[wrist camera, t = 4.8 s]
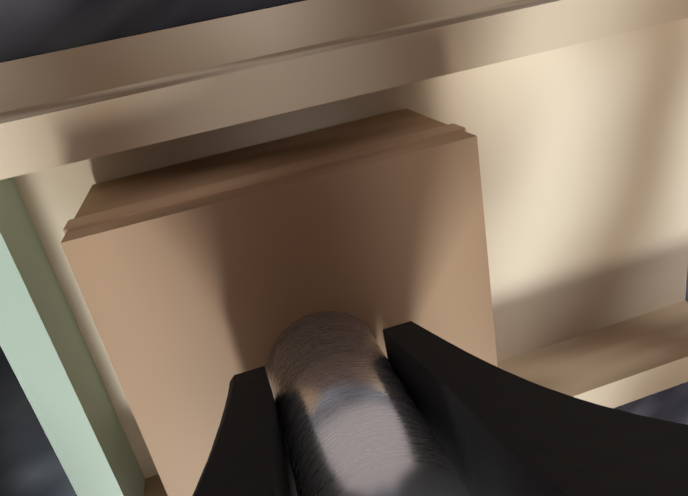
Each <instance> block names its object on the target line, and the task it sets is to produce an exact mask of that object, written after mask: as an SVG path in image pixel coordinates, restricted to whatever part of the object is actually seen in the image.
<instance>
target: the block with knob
mask: <svg viewBox="0 0 688 496" xmlns="http://www.w3.org/2000/svg"><path fill="white" fill-rule="evenodd" d="M63 231H64V234H65V236H64V238H63V239H62V241H61V245H62V248H63V250H64V252H65V255H66V257H67V260H68V262H69V264H70V267H71V269H72V271H73V274H74V276H75V278H76V281H77V283H78V285H79V288H80V290H81V293H82V295H83V297H84V300H85V302H86V304H87V307H88V309H89V311H90V314H91V316H92V318H93V321H94V323H95V325H96V328H97V330H98V333H99V335H100V337H101V340H102V342H103V344H104V347H105V349H106V351H107V354H108V356H109V358H110V361H111V363H112V365H113V368H114V370H115V373H116V375H117V377H118V380H119V382H120V384H121V387H122V389H123V391H124V394H125V396H126V398H127V401H128V403H129V405H130V408H131V410H132V413H133V415H134V417H135V420H136V422H137V424H138V427H139V429H140V431H141V434H142V436H143V438H144V441H145V443H146V445H147V448H148V450H149V453H150V455H151V457H152V460H153V462H154V464H155V467H156V469H157V471H158V474H159V476H160V478H161V481H162V483H163V485H164V488H165V490H166V493H167V495H168V496H192V495H193V493H194V491H195V489H196V486H197V484H198V481H199V479H200V477H201V474H202V472H203V469H204V467H205V464H206V462H207V460H208V457H209V454H210V452H211V449H212V446H213V443H214V440H215V437H216V434H217V431H218V428H219V425H220V422H221V418H222V415H223V411H224V408H225V404H226V400H227V395H228V390H229V384H230V381H231V379H232V378H233V376H234V375H236V374H240V373H243V372H246V371H249V370H253V369H256V368H259V367H262V366H265V369H266V372H267V376H268V379H269V382H270V386H271V389H272V393H273V396H274V400H275V403H276V407H277V411H278V415H279V420H280V424H281V428H282V432H283V436H284V440H285V445H286V449H287V453H288V457H289V461H290V465H291V469H292V474H293V478H294V482H295V486H296V490H297V494H298V496H469V493H468V491H467V489H466V487H465V486H464V484H463V482H462V481H461V479H460V477H459V476H458V474H457V472H456V471H455V469H454V468H453V466H452V464H451V463H450V461H449V459H448V458H447V456H446V454H445V453H444V451H443V449H442V448H441V446H440V445H439V443H438V441H437V440H436V438H435V436H434V435H433V433H432V431H431V430H430V428H429V426H428V425H427V423H426V421H425V420H424V418H423V417H422V415H421V413H420V412H419V410H418V408H417V407H416V405H415V403H414V402H413V400H412V398H411V397H410V395H409V394H408V392H407V390H406V389H405V387H404V385H403V384H402V382H401V380H400V379H399V377H398V375H397V374H396V372H395V370H394V369H393V367H392V366H391V364H390V362H389V361H388V358H387V352H386V347H385V341H384V336H383V329H386V328H389V327H393V326H396V325H399V324H402V323H406V322H409V321H412V322H414V323H415V324H417V325H419V326H421V327H423V328H424V329H426V330H428V331H430V332H431V333H433V334H435V335H437V336H439V337H440V338H442V339H444V340H446V341H448V342H449V343H451V344H453V345H455V346H457V347H459V348H460V349H462V350H464V351H466V352H468V353H470V354H472V355H474V356H476V357H478V358H480V359H482V360H484V361H486V362H488V363H490V364H492V365H494V366H496V367H498V364H497V353H496V342H495V331H494V320H493V308H492V297H491V286H490V275H489V264H488V253H487V242H486V231H485V219H484V208H483V197H482V186H481V175H480V164H479V153H478V142H477V136H476V135H473V134H471V133H468V132H466V128H465V127H462V126H459V125H457V124H454V123H452V124H448V125H447V124H445V123H442V122H440V121H437V120H435V119H432V118H429V117H427V116H424V115H422V114H419V113H417V112H414V111H411V110H409V109H402V110H398V111H393V112H389V113H385V114H381V115H377V116H373V117H369V118H365V119H361V120H356V121H352V122H348V123H344V124H340V125H336V126H332V127H328V128H323V129H319V130H315V131H311V132H307V133H303V134H299V135H295V136H291V137H286V138H282V139H278V140H274V141H270V142H266V143H262V144H258V145H254V146H249V147H245V148H241V149H237V150H233V151H229V152H225V153H221V154H217V155H212V156H208V157H204V158H200V159H196V160H192V161H188V162H184V163H179V164H175V165H171V166H167V167H163V168H159V169H155V170H151V171H147V172H142V173H138V174H134V175H130V176H126V177H122V178H118V179H114V180H110V181H105V182H101V183H97V184H93V185H92V187H91V188H90V190H89V192H88V194H87V196H86V198H85V199H84V201H83V203H82V205H81V207H80V208H79V210H78V212H77V214H76V216H75V218H74V219H70V220H68V222H67V224H66V225H65V227H64V229H63Z"/></svg>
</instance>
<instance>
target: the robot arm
mask: <svg viewBox="0 0 688 496" xmlns="http://www.w3.org/2000/svg"><path fill="white" fill-rule="evenodd" d="M383 336H384V341H385V347H386V352H387V358H388V361H389V362H390V364H391V366H392V367H393V369H394V370H395V372H396V374H397V375H398V377H399V379H400V380H401V382H402V384H403V385H404V387H405V389H406V390H407V392H408V394H409V395H410V397H411V398H412V400H413V402H414V403H415V405H416V407H417V408H418V410H419V412H420V413H421V415H422V417H423V418H424V420H425V421H426V423H427V425H428V426H429V428H430V430H431V431H432V433H433V435H434V436H435V438H436V440H437V441H438V443H439V445H440V446H441V448H442V449H443V451H444V453H445V454H446V456H447V458H448V459H449V461H450V463H451V464H452V466H453V468H454V469H455V471H456V472H457V474H458V476H459V477H460V479H461V481H462V482H463V484H464V486H465V487H466V489H467V491H468V493H469V496H688V425H685V424H679V423H673V422H668V421H663V420H659V419H654V418H649V417H645V416H640V415H636V414H632V413H628V412H625V411H621V410H617V409H613V408H609V407H605V406H601V405H598V404H595V403H591V402H588V401H584V400H581V399H578V398H575V397H572V396H569V395H566V394H564V393H561V392H558V391H555V390H552V389H549V388H546V387H544V386H541V385H538V384H536V383H533V382H531V381H528V380H526V379H524V378H521V377H519V376H517V375H514V374H512V373H510V372H507V371H505V370H503V369H501V368H498V367H496V366H494V365H492V364H490V363H488V362H486V361H484V360H482V359H480V358H478V357H476V356H474V355H472V354H470V353H468V352H466V351H464V350H462V349H460V348H459V347H457V346H455V345H453V344H451V343H449V342H448V341H446V340H444V339H442V338H440V337H439V336H437V335H435V334H433V333H431V332H430V331H428V330H426V329H424V328H423V327H421V326H419V325H417V324H415V323H414V322H412V321H409V322H406V323H402V324H399V325H396V326H393V327H389V328H386V329H383ZM192 496H298V494H297V490H296V486H295V482H294V478H293V474H292V469H291V465H290V461H289V457H288V453H287V449H286V445H285V440H284V436H283V432H282V428H281V424H280V420H279V415H278V411H277V407H276V403H275V400H274V396H273V393H272V389H271V386H270V382H269V379H268V376H267V372H266V369H265V366H262V367H259V368H256V369H253V370H249V371H246V372H243V373H240V374H236V375H234V376H233V378H232V379H231V381H230V384H229V390H228V395H227V400H226V404H225V408H224V411H223V415H222V418H221V422H220V425H219V428H218V431H217V434H216V437H215V440H214V443H213V446H212V449H211V452H210V454H209V457H208V460H207V462H206V464H205V467H204V469H203V472H202V474H201V477H200V479H199V481H198V484H197V486H196V489H195V491H194V493H193V495H192Z"/></svg>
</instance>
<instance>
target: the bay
mask: <svg viewBox="0 0 688 496" xmlns="http://www.w3.org/2000/svg"><path fill="white" fill-rule="evenodd" d="M402 109H409V110H411V111H414V112H417V113H419V114H422V115H424V116H427V117H429V118H432V119H435V120H437V121H440V122H442V123H445V124H447V125H448V124H452V123H454V124H457V125H459V126H462V127H465V128H466V132H468V133H471V134H473V135H476V136H477V142H478V153H479V164H480V175H481V186H482V197H483V208H484V219H485V231H486V242H487V253H488V264H489V275H490V286H491V297H492V308H493V320H494V331H495V342H496V353H497V364H498V368H501V369H503V370H505V371H507V372H510V373H512V374H514V375H517V376H519V377H521V378H524V379H526V380H528V381H531V382H533V383H536V384H538V385H541V386H544V387H546V388H549V389H552V390H555V391H558V392H561V393H564V394H566V395H569V396H572V397H575V398H578V399H581V400H584V401H588V402H591V403H595V404H598V405H601V406H605V407H609V408H616V407H618V406H621V405H624V404H627V403H630V402H632V401H635V400H638V399H641V398H644V397H646V396H649V395H652V394H655V393H658V392H660V391H663V390H666V389H669V388H672V387H674V386H677V385H680V384H683V383H686V382H688V302H687V301H685V297H686V283H687V268H688V0H306V1H301V2H296V3H291V4H286V5H281V6H276V7H271V8H266V9H261V10H257V11H252V12H247V13H242V14H237V15H232V16H227V17H222V18H217V19H212V20H208V21H203V22H198V23H193V24H188V25H183V26H178V27H173V28H168V29H163V30H159V31H154V32H149V33H144V34H139V35H134V36H129V37H124V38H119V39H114V40H109V41H105V42H100V43H95V44H90V45H85V46H80V47H75V48H70V49H65V50H60V51H56V52H51V53H46V54H41V55H36V56H31V57H26V58H21V59H16V60H11V61H7V62H2V63H0V346H1V348H2V350H3V352H4V354H5V356H6V358H7V360H8V362H9V364H10V365H11V367H12V369H13V371H14V373H15V375H16V377H17V379H18V381H19V383H20V385H21V387H22V389H23V391H24V393H25V395H26V397H27V399H28V401H29V402H30V404H31V406H32V408H33V410H34V412H35V414H36V416H37V418H38V420H39V422H40V424H41V426H42V428H43V430H44V432H45V434H46V436H47V438H48V439H49V441H50V443H51V445H52V447H53V449H54V451H55V453H56V455H57V457H58V459H59V461H60V463H61V465H62V467H63V469H64V471H65V473H66V474H67V476H68V478H69V480H70V482H71V484H72V486H73V488H74V490H75V492H76V494H77V496H168V495H167V493H166V490H165V488H164V485H163V483H162V481H161V478H160V476H159V474H158V471H157V469H156V467H155V464H154V462H153V460H152V457H151V455H150V453H149V450H148V448H147V445H146V443H145V441H144V438H143V436H142V434H141V431H140V429H139V427H138V424H137V422H136V420H135V417H134V415H133V413H132V410H131V408H130V405H129V403H128V401H127V398H126V396H125V394H124V391H123V389H122V387H121V384H120V382H119V380H118V377H117V375H116V373H115V370H114V368H113V365H112V363H111V361H110V358H109V356H108V354H107V351H106V349H105V347H104V344H103V342H102V340H101V337H100V335H99V333H98V330H97V328H96V325H95V323H94V321H93V318H92V316H91V314H90V311H89V309H88V307H87V304H86V302H85V300H84V297H83V295H82V293H81V290H80V288H79V285H78V283H77V281H76V278H75V276H74V274H73V271H72V269H71V267H70V264H69V262H68V260H67V257H66V255H65V252H64V250H63V248H62V245H61V241H62V239H63V238H64V236H65V234H64V231H63V229H64V227H65V225H66V224H67V222H68V220H70V219H74V218H75V216H76V214H77V212H78V210H79V208H80V207H81V205H82V203H83V201H84V199H85V198H86V196H87V194H88V192H89V190H90V188H91V187H92V185H93V184H97V183H101V182H105V181H110V180H114V179H118V178H122V177H126V176H130V175H134V174H138V173H142V172H147V171H151V170H155V169H159V168H163V167H167V166H171V165H175V164H179V163H184V162H188V161H192V160H196V159H200V158H204V157H208V156H212V155H217V154H221V153H225V152H229V151H233V150H237V149H241V148H245V147H249V146H254V145H258V144H262V143H266V142H270V141H274V140H278V139H282V138H286V137H291V136H295V135H299V134H303V133H307V132H311V131H315V130H319V129H323V128H328V127H332V126H336V125H340V124H344V123H348V122H352V121H356V120H361V119H365V118H369V117H373V116H377V115H381V114H385V113H389V112H393V111H398V110H402Z"/></svg>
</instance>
